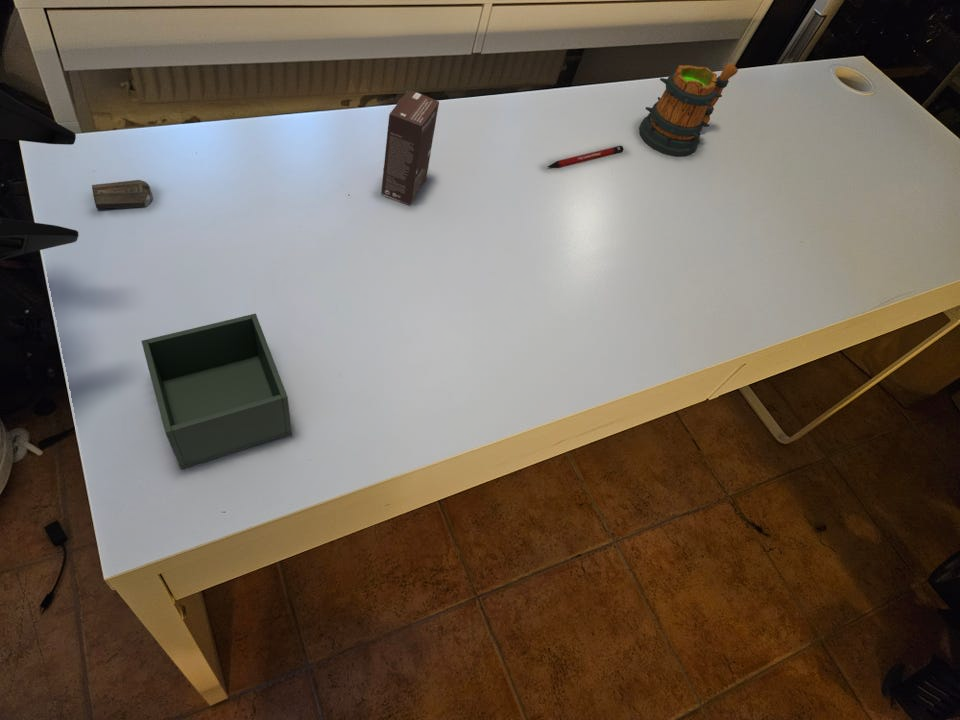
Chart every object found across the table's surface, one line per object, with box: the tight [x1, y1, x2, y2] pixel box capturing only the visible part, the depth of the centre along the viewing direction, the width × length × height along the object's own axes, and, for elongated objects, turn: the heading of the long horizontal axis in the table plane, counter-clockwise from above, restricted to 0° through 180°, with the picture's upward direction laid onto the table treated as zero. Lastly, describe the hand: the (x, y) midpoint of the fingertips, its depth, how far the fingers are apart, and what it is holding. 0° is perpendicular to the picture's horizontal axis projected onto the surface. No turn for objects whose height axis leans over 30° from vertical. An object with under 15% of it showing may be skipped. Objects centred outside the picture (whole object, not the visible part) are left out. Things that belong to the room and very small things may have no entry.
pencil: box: [547, 145, 624, 169], centre depth 96 cm, size 1×14×1 cm, turn 120°
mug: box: [638, 62, 739, 158], centre depth 100 cm, size 13×10×12 cm
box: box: [380, 89, 440, 206], centre depth 81 cm, size 6×4×12 cm
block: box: [91, 179, 153, 209], centre depth 76 cm, size 4×6×2 cm, turn 115°
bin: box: [140, 313, 293, 470], centre depth 60 cm, size 10×10×7 cm
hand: (76, 186), depth 52 cm, fingers open, 9 cm apart
